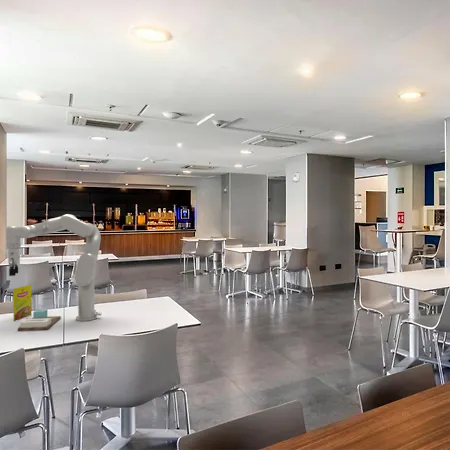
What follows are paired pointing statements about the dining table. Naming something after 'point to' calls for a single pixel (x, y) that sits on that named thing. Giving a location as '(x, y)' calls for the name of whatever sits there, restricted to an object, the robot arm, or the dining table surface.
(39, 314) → the teal cube
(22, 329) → the board
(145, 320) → the dining table surface
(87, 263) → the robot arm
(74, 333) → the dining table surface
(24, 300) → the food package
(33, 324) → the white tray
